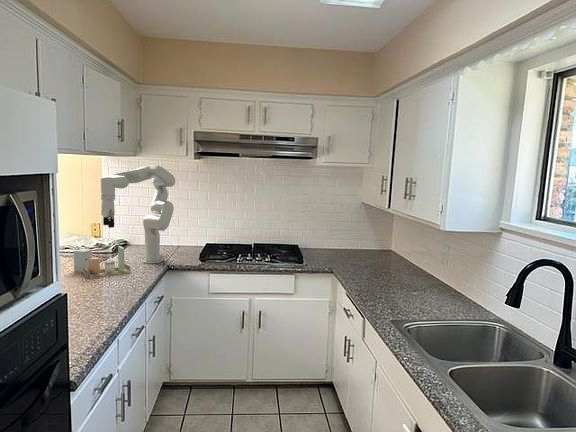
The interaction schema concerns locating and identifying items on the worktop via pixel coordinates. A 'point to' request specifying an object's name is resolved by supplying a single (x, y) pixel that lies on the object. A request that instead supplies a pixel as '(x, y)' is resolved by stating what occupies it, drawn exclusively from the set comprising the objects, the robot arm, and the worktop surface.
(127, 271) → the lane
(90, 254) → the supplement box
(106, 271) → the cream jar
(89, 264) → the ball
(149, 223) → the robot arm
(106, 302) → the worktop surface
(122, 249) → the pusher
